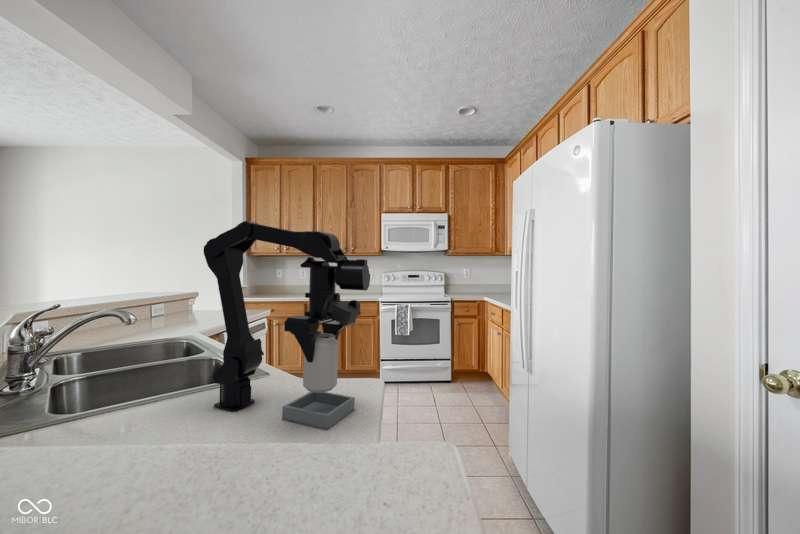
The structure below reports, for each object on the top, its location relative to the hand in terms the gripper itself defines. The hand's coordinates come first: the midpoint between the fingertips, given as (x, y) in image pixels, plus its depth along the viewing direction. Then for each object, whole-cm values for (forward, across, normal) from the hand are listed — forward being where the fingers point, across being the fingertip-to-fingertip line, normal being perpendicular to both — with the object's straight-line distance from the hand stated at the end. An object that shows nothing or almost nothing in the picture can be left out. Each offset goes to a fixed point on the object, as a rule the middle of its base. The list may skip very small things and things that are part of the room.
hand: (320, 358), depth 83 cm
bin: (+13, 0, 0) cm, 13 cm away
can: (+7, 0, 0) cm, 7 cm away
